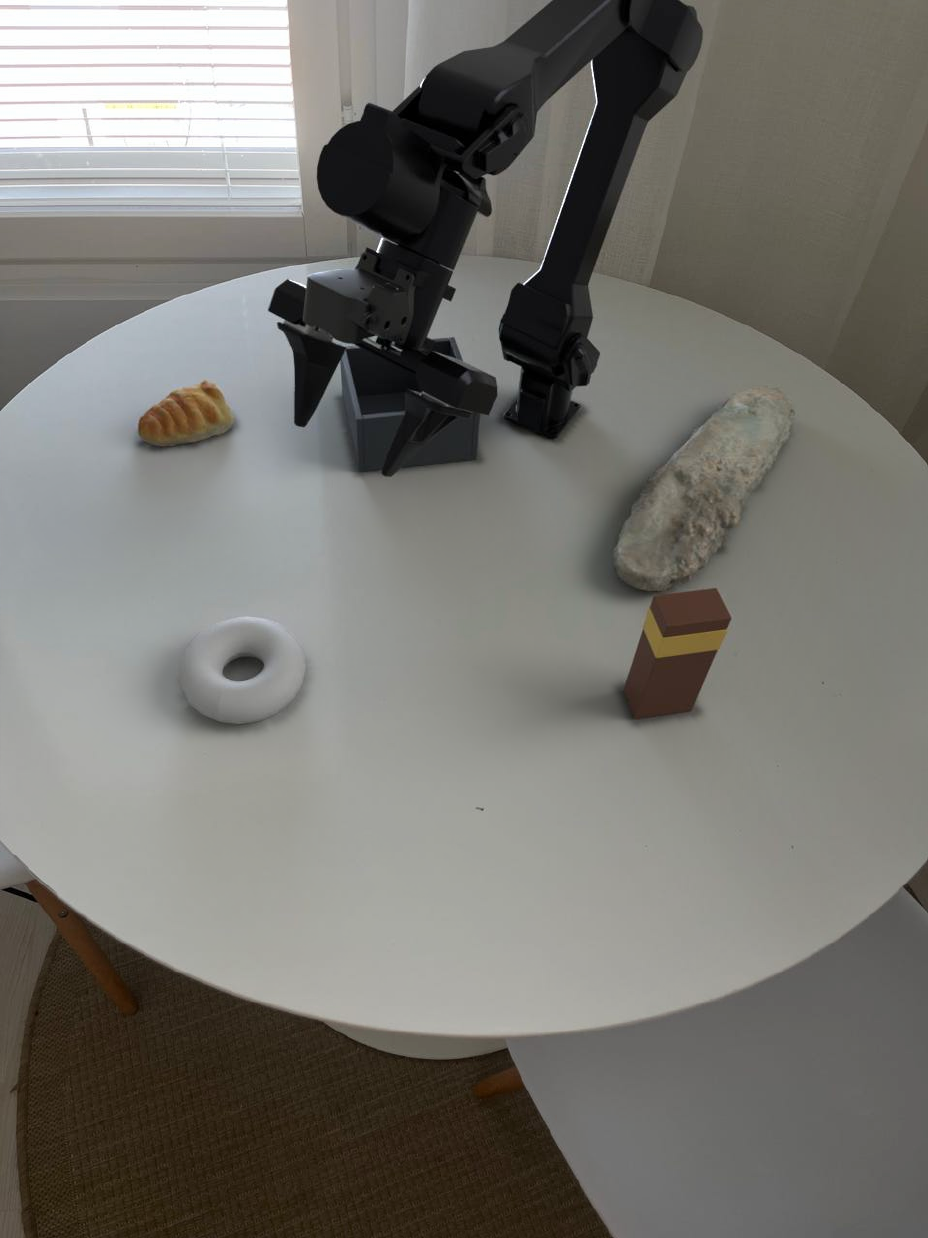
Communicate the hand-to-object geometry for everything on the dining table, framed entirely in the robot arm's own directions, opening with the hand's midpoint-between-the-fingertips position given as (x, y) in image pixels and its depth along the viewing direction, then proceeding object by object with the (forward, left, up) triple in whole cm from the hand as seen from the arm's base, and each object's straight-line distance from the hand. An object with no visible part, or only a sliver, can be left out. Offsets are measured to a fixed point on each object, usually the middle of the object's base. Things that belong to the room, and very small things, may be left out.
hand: (341, 450), depth 71 cm
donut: (+14, -1, -15) cm, 20 cm away
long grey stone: (-29, +24, -15) cm, 40 cm away
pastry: (-9, -26, -15) cm, 31 cm away
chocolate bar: (-2, +29, -14) cm, 33 cm away
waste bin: (-21, -7, -14) cm, 26 cm away
